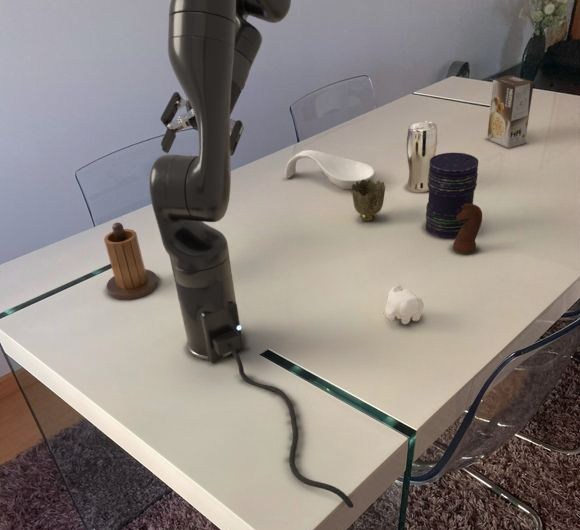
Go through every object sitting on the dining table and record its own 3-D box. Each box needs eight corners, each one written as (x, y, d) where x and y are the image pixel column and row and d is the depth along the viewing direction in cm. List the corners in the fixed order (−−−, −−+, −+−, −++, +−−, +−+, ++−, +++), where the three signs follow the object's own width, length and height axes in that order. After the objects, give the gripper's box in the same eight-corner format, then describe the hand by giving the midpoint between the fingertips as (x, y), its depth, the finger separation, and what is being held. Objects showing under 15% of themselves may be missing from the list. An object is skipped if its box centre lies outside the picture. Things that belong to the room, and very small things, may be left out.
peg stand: (166, 288, 127) (151, 224, 119) (118, 305, 123) (100, 240, 115) (146, 268, 134) (131, 206, 126) (100, 284, 130) (82, 222, 122)
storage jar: (437, 242, 134) (442, 174, 125) (417, 223, 141) (420, 157, 132) (480, 233, 135) (488, 165, 126) (458, 214, 143) (464, 149, 134)
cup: (346, 223, 144) (345, 190, 139) (359, 209, 149) (359, 177, 144) (377, 228, 141) (378, 194, 136) (389, 214, 146) (390, 181, 141)
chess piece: (453, 243, 133) (457, 198, 127) (478, 244, 132) (484, 199, 126) (451, 254, 130) (456, 208, 124) (477, 255, 128) (483, 209, 122)
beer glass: (433, 193, 153) (437, 131, 144) (404, 193, 154) (406, 131, 145) (434, 181, 158) (438, 120, 149) (405, 181, 160) (408, 121, 150)
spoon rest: (381, 178, 162) (381, 151, 158) (363, 197, 154) (363, 168, 150) (298, 168, 172) (296, 141, 167) (277, 185, 164) (275, 158, 159)
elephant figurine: (375, 315, 114) (376, 287, 111) (415, 304, 116) (416, 276, 113) (393, 335, 109) (394, 306, 106) (434, 323, 111) (437, 294, 107)
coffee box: (526, 143, 174) (535, 81, 164) (507, 148, 172) (516, 86, 162) (503, 134, 181) (511, 74, 171) (485, 138, 179) (492, 78, 169)
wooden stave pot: (151, 282, 127) (140, 236, 121) (123, 292, 125) (110, 246, 119) (140, 270, 131) (129, 226, 125) (112, 280, 129) (99, 235, 123)
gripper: (183, 54, 112) (145, 138, 113) (256, 86, 112) (217, 171, 112) (192, 73, 120) (156, 151, 120) (260, 103, 119) (224, 182, 119)
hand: (185, 161), depth 116 cm, fingers open, 8 cm apart
